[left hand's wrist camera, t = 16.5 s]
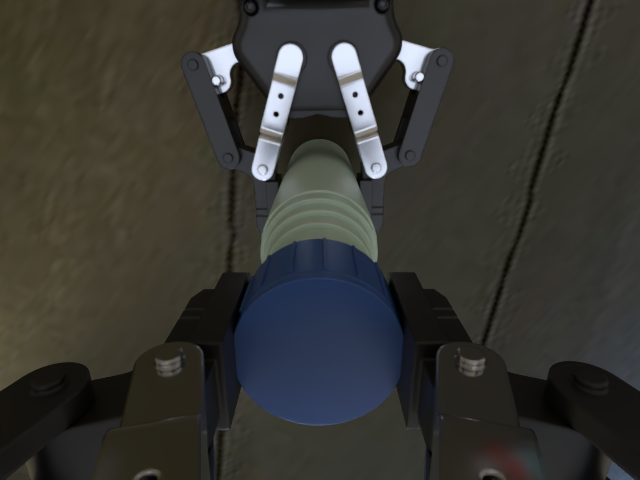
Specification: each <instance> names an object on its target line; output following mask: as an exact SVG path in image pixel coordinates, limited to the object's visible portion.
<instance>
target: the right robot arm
mask: <svg viewBox="0 0 640 480" xmlns="http://www.w3.org/2000/svg"><path fill="white" fill-rule="evenodd" d="M395 61H397V62H398V63H400V65H401V67H402V71H403V73H402V82H403V84H404V86H405V87H406V88H408V89H410V92H409V95H408V98H407V101H406V104H405V107H404V110H403V114H402V117H401V120H400V123H399V126H398V129H397V132H396V135H395V139H394V142H392V143H390V144H387V145H385V146H382V145H381V141H380V138H379V134H378V128H377V124H376V121H375V117H374V114H373V110H372V107H371V103H370V100H369V98H370V97H371V95H372V94H373V92H374V91H375V89H376V88H377V87H378V85H379V84H380V82H381V81H382V79H383V78H384V77H385V75H386V74H387V72H388V71H389V69H390V68H391V67H392V65H393V64H394V62H395ZM238 64H240V65H241V66H242V67H243V69H244V70H245V71H246V73H247V74H248V75H249V77H250V78H251V79H252V81H253V82H254V83H255V85H256V86H257V87H258V89H259V90H260V91H261V93H262V94H263V95H264V97H265V98H266V99H267V103H266V107H265V111H264V115H263V119H262V123H261V127H260V132H259V139H258V143H257V147H256V148H253V147H250V146H247V145H245V143H244V140H243V138H242V135H241V132H240V129H239V127H238V124H237V121H236V118H235V115H234V113H233V110H232V107H231V104H230V101H229V99H228V96H227V92H229V91H230V90H231V89H232V88H233V86H234V77H233V72H234V69H235V67H236V66H237V65H238ZM453 64H454V55H453V53H452V52H451V51H450V50H449V49H447V48H437V49H430V48H427V47H424V46H420V45H417V44H414V43H410V42H407V41H404V40H402V35H401V32H400V30H399V28H398V26H397V23H396V20H395V17H394V11H393V0H240V18H239V23H238V26H237V29H236V31H235V33H234V36H233V40H232V44H229V45H226V46H223V47H220V48H217V49H214V50H211V51H208V52H205V53H197V52H188V53H186V54H185V55H184V56H183V57H182V60H181V67H182V70H183V73H184V75H185V78H186V81H187V83H188V86H189V88H190V91H191V94H192V96H193V99H194V101H195V104H196V107H197V109H198V112H199V114H200V117H201V120H202V122H203V125H204V127H205V130H206V132H207V135H208V138H209V140H210V143H211V145H212V148H213V151H214V153H215V156H216V158H217V161H218V163H219V164H220V166H222V167H223V168H225V169H235V170H238V171H241V172H244V173H246V174H248V175H249V176H250V177H251V178H252V180H253V183H254V191H255V205H256V219H257V227H258V229H259V231H260V233H261V234H262V233H263V229H264V226H265V223H266V221H267V218H268V216H269V213H270V210H271V208H272V205H273V203H274V200H275V198H276V195H277V192H278V190H279V187H280V185H281V182H282V174H278V168H277V165H278V162H279V158H280V155H281V151H282V147H283V143H284V140H285V136H286V133H287V130H288V126H289V123H290V119H300V118H306V117H310V116H313V115H316V114H321V115H325V116H328V117H332V118H347V120H348V123H349V126H350V129H351V132H352V135H353V138H354V141H355V145H356V148H357V151H358V154H359V158H360V161H361V168H360V173H357V183H358V185H359V188H360V191H361V193H362V196H363V199H364V201H365V204H366V207H367V209H368V212H369V214H370V217H371V220H372V222H373V225H374V228H375V232H379V231H380V229H381V227H382V225H383V206H384V182H385V179H386V177H387V175H388V174H389V173H390V172H392V171H394V170H396V169H399V168H401V167H404V166H407V167H411V166H414V165H416V164H417V163H418V162H419V161H420V159H421V157H422V154H423V151H424V148H425V145H426V142H427V139H428V136H429V133H430V131H431V128H432V125H433V122H434V119H435V116H436V113H437V110H438V108H439V105H440V102H441V99H442V96H443V93H444V90H445V87H446V84H447V82H448V79H449V76H450V73H451V70H452V67H453Z"/></svg>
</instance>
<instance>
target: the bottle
mask: <svg viewBox="0 0 640 480" xmlns="http://www.w3.org/2000/svg"><path fill="white" fill-rule="evenodd" d="M323 238H326V239H330V240H335V241H340V242H343V243H346V244H349V245H351V246H352V245H354V246H355V248H357V249H359V250H360V251H362V252H363V253H365V254H366V255H367V256H368V257H369V258H371V259H372V260H373V261H374V263H375V262H377V256H378V249H377V237H376V232H375V228H374V225H373V222H372V220H371V217H370V214H369V212H368V209H367V207H366V204H365V201H364V199H363V196H362V193H361V191H360V188H359V185H358V183H357V180H356V177H355V175H354V172H353V170H352V167H351V164H350V162H349V159H348V157H347V155H346V153H345V152H344V150H343V149H342V148H341V147H340V146H338V145H337V144H336V143H334V142H332V141H329V140H325V139H314V140H310V141H307V142H305V143H303V144H302V145H301V146H299V147H298V148H297V149H296V150H295V152H294V153H293V155H292V157H291V159H290V162H289V164H288V167H287V169H286V172H285V175H284V177H283V180H282V182H281V185H280V187H279V190H278V192H277V195H276V198H275V200H274V203H273V205H272V208H271V210H270V213H269V216H268V218H267V221H266V223H265V226H264V229H263V233H262V240H261V261H262V263H263V262H264V261H265V260H266V259H267V256H268V255H269V254H270V255H272V254H273V253H274V252H276V251H278V250H279V249H281V248H283V247H285V246H287V245H289V244H292V243H293V241H296V242H298V241H303V240H308V239H323Z"/></svg>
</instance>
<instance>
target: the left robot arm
mask: <svg viewBox="0 0 640 480" xmlns="http://www.w3.org/2000/svg"><path fill="white" fill-rule="evenodd" d="M250 278H251V276H250V273H223V274H222V275H221V277H220V279H219V281H218V283H217V285H216V287H215V289H204V290H202V291H201V292H199V293H198V294H196V295H195V296H194V297H192V298H191V299H190V301H189V303H188V304H187V306H186V308H185V310H184V311H183V313H182V314H181V316H180V319H179V320H178V321H177V323H176V325H175V326H174V328H173V330H172V331H171V333H170V335H169V336H168V338H167V340H166V341H165V343H164V344H161V345H158V346H156V347H153V348H151V349H149V350H148V351H146V352H145V353H143V354H142V355H141V356H140V357H139V358H138V359H137V361H136V362H135V365H134V368H133V371H131V372H128V373H125V374H121V375H116V376H111V377H106V378H102V379H97V380H92V381H91V377H90V372H89V370H88V368H87V367H86V366H84V365H82V364H79V363H74V362H65V363H57V364H52V365H48V366H45V367H42V368H40V369H37V370H35V371H33V372H31V373H29V374H27V375H25V376H24V377H22V378H20V379H19V380H17V381H16V382H14V383H13V384H11V385H10V386H8V387H6V388H5V389H3V390H2V391H0V480H5V479H7V478H8V477H9V476H10V475H11V474H13V473H14V472H15V471H16V470H17V469H18V468H20V467H21V466H22V465H23V464H24V463H25V465H26V468H27V471H28V474H29V477H30V480H216V465H215V449H214V440H213V437H214V434H215V430H230V428H231V424H232V420H233V416H234V412H235V408H236V405H237V401H238V397H239V393H240V389H241V384H240V383H239V381H238V378H237V367H236V355H235V343H234V331H235V328H236V325H237V322H238V319H239V316H240V313H239V309H240V306H241V303H242V301H243V298H244V295H245V292H246V289H247V287H248V284H249V281H250ZM387 285H388V286H389V289H390V292H391V295H392V298H393V301H394V304H395V307H396V310H397V313H398V316H399V319H400V324H401V327H402V330H403V348H402V361H401V373H400V379H399V381H398V383H397V385H396V387H397V391H398V395H399V399H400V403H401V407H402V411H403V415H404V419H405V423H406V427H407V430H422V433H423V437H424V440H425V443H426V449H425V465H424V480H610V479H609V478H608V477H607V473H608V470H609V467H610V464H611V461H613V462H614V463H616V464H617V465H618V466H619V467H620V468H622V469H623V470H624V471H625V472H626V473H627V474H629V475H630V476H631V477H632V478H633V479H635V480H640V391H638V390H637V389H635V388H634V387H632V386H630V385H629V384H627V383H626V382H624V381H623V380H621V379H620V378H618V377H617V376H615V375H613V374H612V373H610V372H608V371H606V370H604V369H602V368H599V367H596V366H593V365H590V364H586V363H582V362H575V361H564V362H559V363H556V364H554V365H553V366H552V367H551V368H550V370H549V373H548V377H547V380H542V379H538V378H533V377H528V376H523V375H518V374H514V373H510V372H507V368H506V365H505V362H504V361H503V359H502V358H501V357H500V356H499V355H498V354H497V353H495V352H494V351H492V350H491V349H489V348H487V347H484V346H482V345H479V344H475V343H472V341H471V339H470V337H469V336H468V334H467V332H466V331H465V329H464V327H463V325H462V324H461V322H460V320H459V319H457V315H456V314H455V312H454V310H452V307H451V305H450V303H449V302H448V300H447V298H446V297H444V296H443V295H442V294H440V293H439V292H437V291H436V290H434V289H423V288H422V286H421V284H420V282H419V280H418V278H417V276H416V274H415V273H414V272H388V275H387Z"/></svg>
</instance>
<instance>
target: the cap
mask: <svg viewBox="0 0 640 480" xmlns="http://www.w3.org/2000/svg"><path fill="white" fill-rule="evenodd" d="M239 313H240V316H239V319H238V322H237V325H236V328H235V331H234V343H235V355H236V367H237V378H238V381H239V383H240V384H241V386H242V387H243V389H244V390H245V392H246V393H247V394H248V395H249V396H250V398H251V399H252V400H253V401H255V402H256V403H257V404H258V405H259V406H260V407H262V408H263V409H265V410H266V411H268V412H270V413H272V414H273V415H275V416H277V417H280V418H282V419H285V420H288V421H291V422H295V423H300V424H306V425H331V424H338V423H342V422H346V421H350V420H352V419H355V418H358V417H360V416H362V415H364V414H366V413H368V412H370V411H371V410H373V409H374V408H376V407H377V406H378V405H379V404H381V403H382V402H383V401H384V400H385V399H386V398H387V397H388V396H389V395H390V394H391V392H392V391H393V389H394V388H395V387H396V385H397V383H398V381H399V379H400V373H401V361H402V348H403V330H402V327H401V324H400V319H399V316H398V313H397V310H396V307H395V304H394V301H393V298H392V295H391V292H390V289H389V286H388V285H387V282H386V280H385V277H384V275H383V273H382V272H381V270H380V269H379V266H378V263H377V262H375V263H374V261H373V260H372V259H371V258H369V257H368V256H367V255H366V254H365V253H363V252H362V251H360V250H359V249H357V248H355V246H354V245H352V246H351V245H349V244H346V243H343V242H340V241H335V240H330V239H326V238H323V239H308V240H303V241H298V242H296V241H293V243H292V244H289V245H287V246H285V247H283V248H281V249H279V250H278V251H276V252H274V253H273V254H272V255H270V254H269V255H268V256H267V259H266V260H265V261H264V262H263V263H262V264H261V266H260V267H259V269H258V270H257V271H256V273H255V275H254V276H251V278H250V281H249V284H248V287H247V289H246V292H245V295H244V298H243V301H242V303H241V306H240V309H239Z"/></svg>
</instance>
